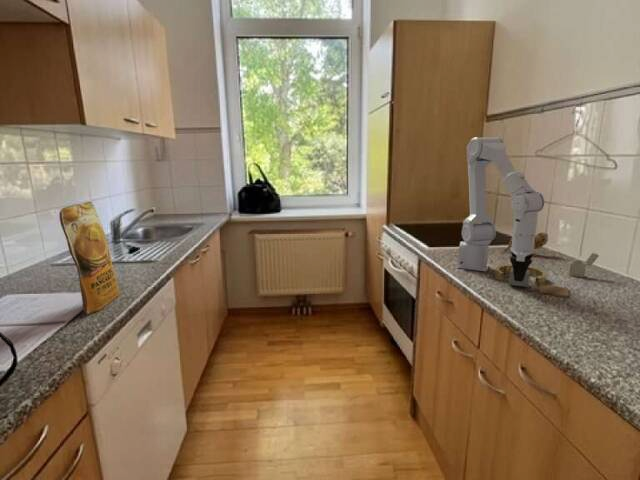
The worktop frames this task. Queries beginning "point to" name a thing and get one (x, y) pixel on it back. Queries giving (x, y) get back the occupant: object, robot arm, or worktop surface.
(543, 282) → the c ring
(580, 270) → the lighter
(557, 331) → the worktop surface
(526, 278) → the c link
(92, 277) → the pancake mix bag
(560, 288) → the coaster
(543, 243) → the lion figurine
